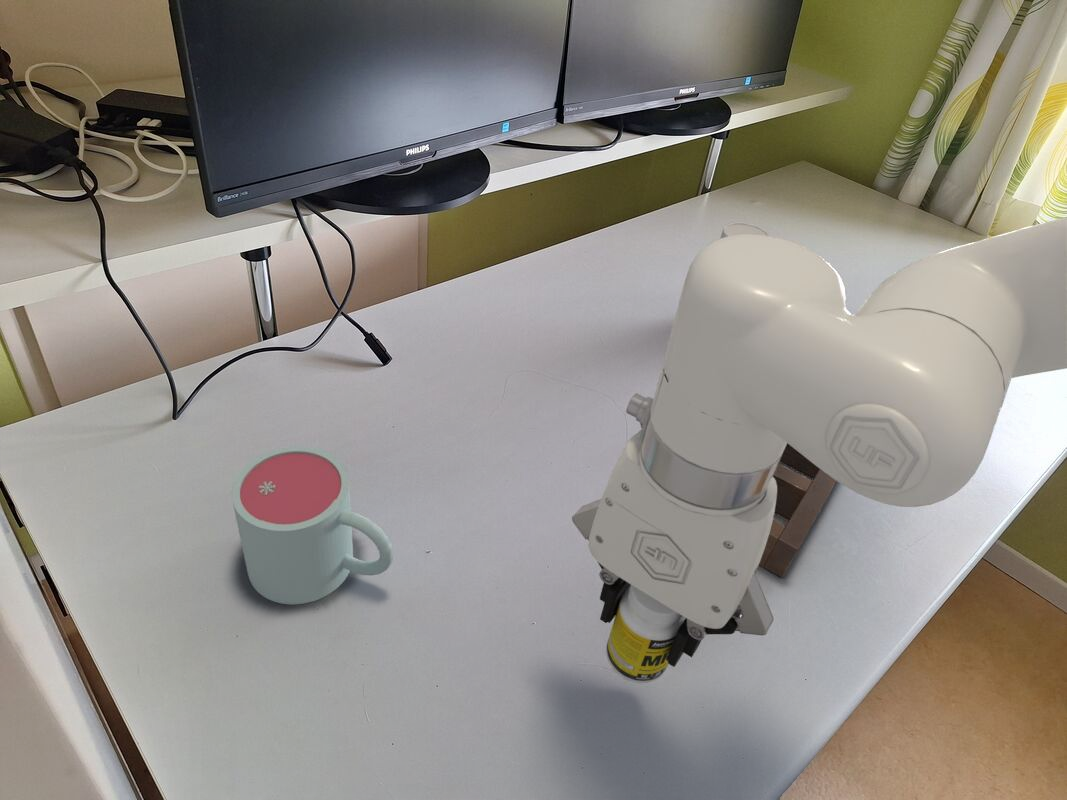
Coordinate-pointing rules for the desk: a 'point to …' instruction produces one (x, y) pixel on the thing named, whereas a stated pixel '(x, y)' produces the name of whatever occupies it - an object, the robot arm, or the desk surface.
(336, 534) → the mug
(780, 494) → the holder
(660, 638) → the supplement bottle
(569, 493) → the desk surface
